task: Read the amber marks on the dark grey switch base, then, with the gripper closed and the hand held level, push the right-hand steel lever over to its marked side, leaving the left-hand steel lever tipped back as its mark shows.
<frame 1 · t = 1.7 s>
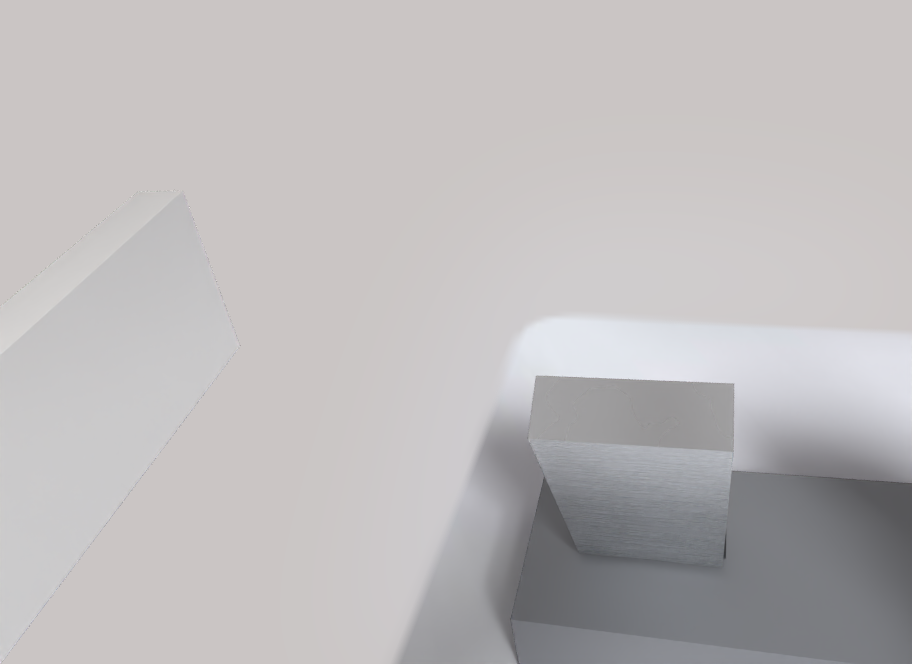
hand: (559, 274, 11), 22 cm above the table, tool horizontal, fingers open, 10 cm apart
switch base: (834, 614, 31), on the table
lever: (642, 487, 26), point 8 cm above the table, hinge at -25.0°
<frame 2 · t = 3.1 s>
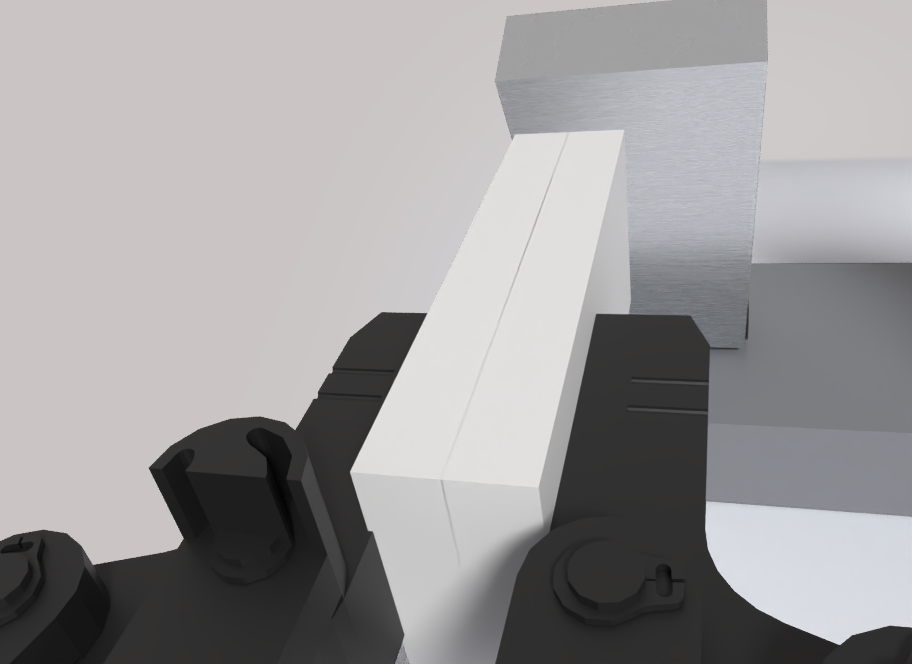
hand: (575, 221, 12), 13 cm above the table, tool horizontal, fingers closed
switch base: (878, 415, 26), on the table
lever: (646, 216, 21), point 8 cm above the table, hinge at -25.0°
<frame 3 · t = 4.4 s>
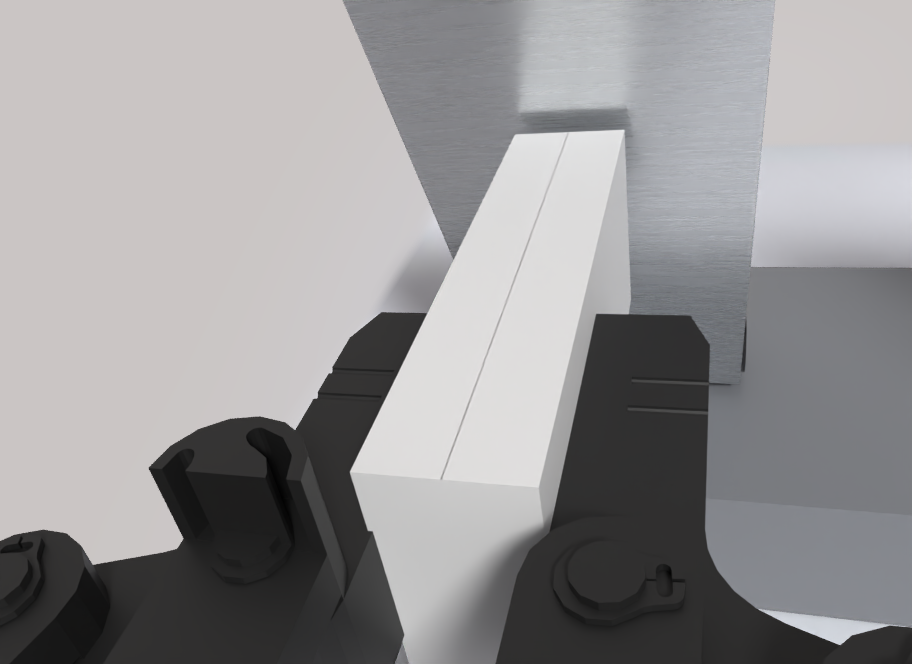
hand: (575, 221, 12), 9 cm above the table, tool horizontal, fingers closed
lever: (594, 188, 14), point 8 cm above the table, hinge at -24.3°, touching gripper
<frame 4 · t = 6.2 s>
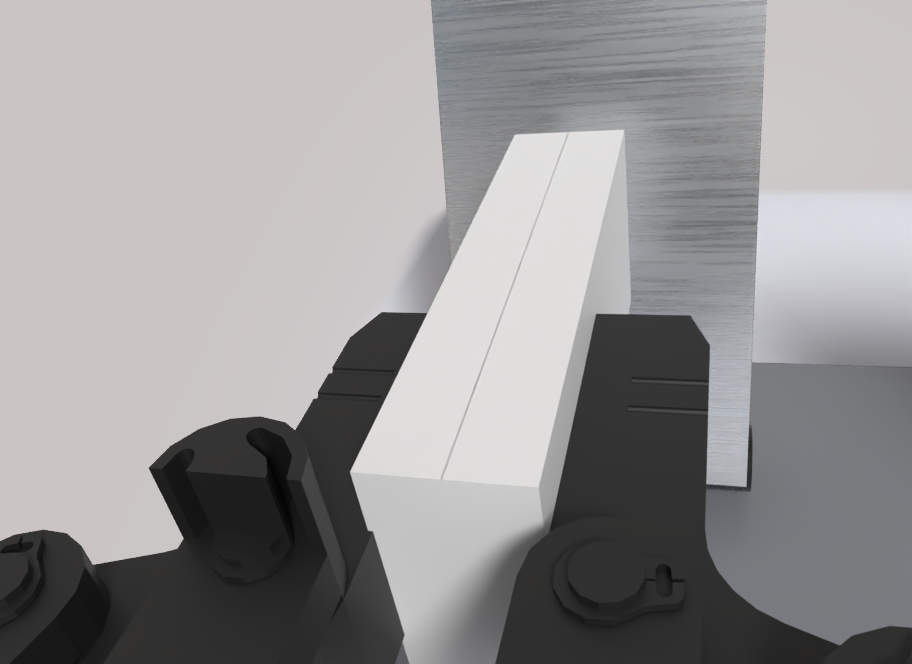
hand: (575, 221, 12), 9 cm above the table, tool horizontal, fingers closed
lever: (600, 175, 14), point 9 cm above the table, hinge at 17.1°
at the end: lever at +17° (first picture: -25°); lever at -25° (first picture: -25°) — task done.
